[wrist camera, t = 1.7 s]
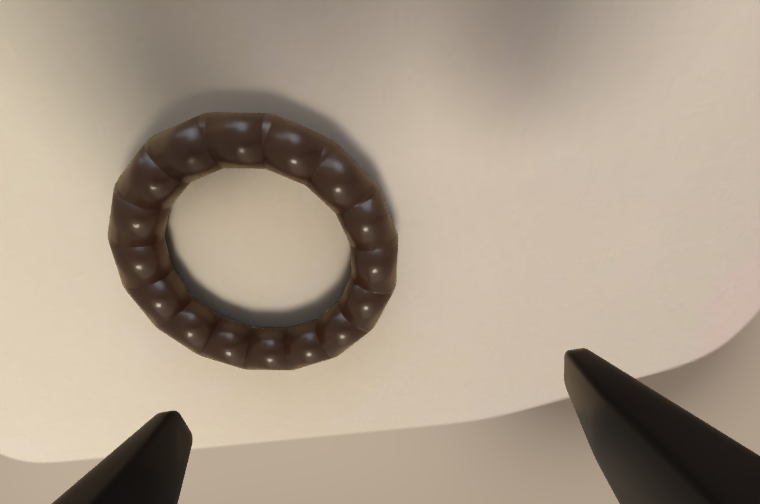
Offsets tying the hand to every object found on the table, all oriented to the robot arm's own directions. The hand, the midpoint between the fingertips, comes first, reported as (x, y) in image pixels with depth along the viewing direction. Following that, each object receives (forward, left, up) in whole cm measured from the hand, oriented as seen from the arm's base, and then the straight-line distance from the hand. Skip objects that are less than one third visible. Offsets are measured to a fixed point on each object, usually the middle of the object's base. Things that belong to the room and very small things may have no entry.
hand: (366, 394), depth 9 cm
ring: (+5, -1, -8) cm, 10 cm away
